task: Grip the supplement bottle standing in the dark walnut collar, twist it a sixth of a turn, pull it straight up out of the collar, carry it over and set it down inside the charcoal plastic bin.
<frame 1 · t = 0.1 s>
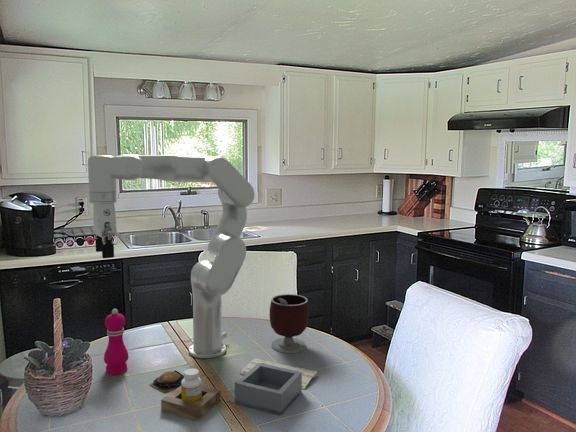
hand: (104, 254, 147), 37 cm above the table, tool pointing down, fingers open, 9 cm apart
socket collar: (191, 405, 134), on the table
newspaper: (278, 375, 154), on the table
supplement bottle: (191, 406, 134), on the table
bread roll: (171, 385, 147), on the table
bin: (268, 397, 139), on the table
pepper mill: (116, 371, 154), on the table
mate gourd: (287, 347, 175), on the table
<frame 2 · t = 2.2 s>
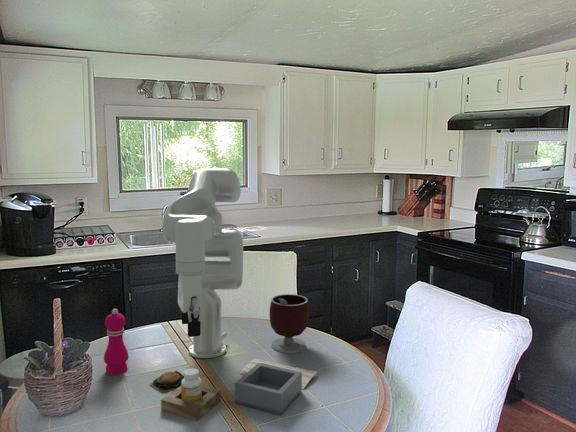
hand: (190, 329, 131), 22 cm above the table, tool pointing down, fingers open, 9 cm apart
nothing on the table moved.
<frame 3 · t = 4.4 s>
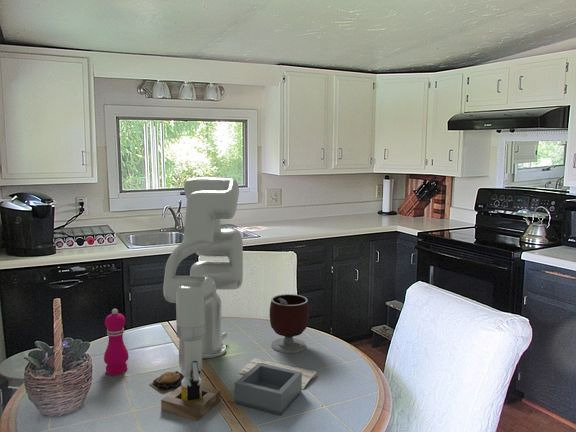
hand: (191, 393, 134), 4 cm above the table, tool pointing down, fingers closed on supplement bottle, 5 cm apart
supplement bottle: (191, 406, 134), on the table, touching gripper
everything else where it was.
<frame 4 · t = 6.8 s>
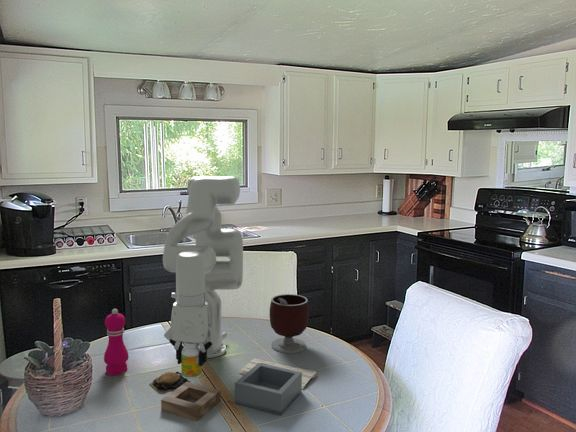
hand: (191, 362, 133), 12 cm above the table, tool pointing down, fingers closed on supplement bottle, 5 cm apart
supplement bottle: (191, 375, 134), point 8 cm above the table, touching gripper
everything else where it was.
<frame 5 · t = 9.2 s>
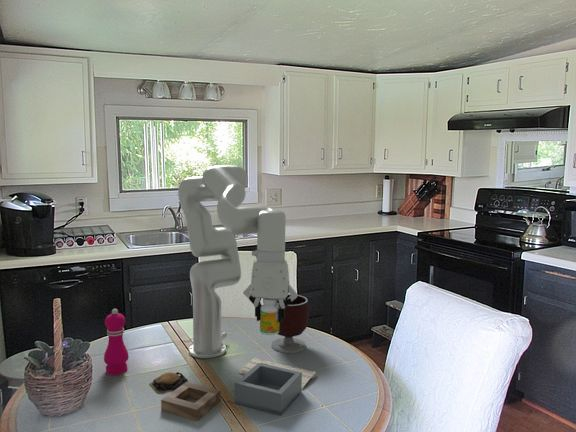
hand: (269, 319, 136), 23 cm above the table, tool pointing down, fingers closed on supplement bottle, 5 cm apart
supplement bottle: (269, 332, 136), point 19 cm above the table, touching gripper
everything else where it was.
when the fingers open (7 cm above the table, at t = 12.5 s): supplement bottle drops 2 cm, resting on bin.
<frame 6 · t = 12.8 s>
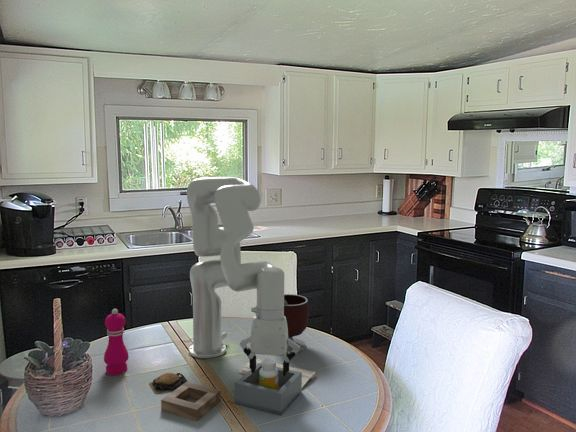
hand: (269, 372, 138), 8 cm above the table, tool pointing down, fingers open, 8 cm apart
supplement bottle: (269, 394, 139), point 1 cm above the table, touching bin
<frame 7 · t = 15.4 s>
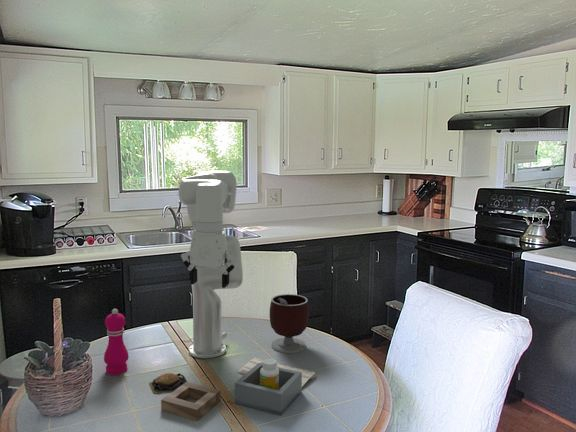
hand: (209, 284, 143), 30 cm above the table, tool pointing down, fingers open, 9 cm apart
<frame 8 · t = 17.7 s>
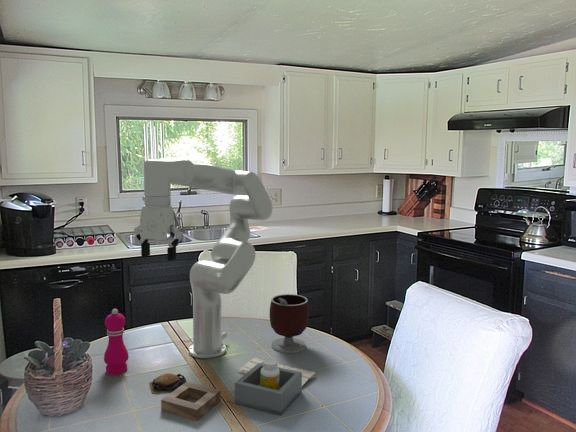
hand: (158, 258, 148), 36 cm above the table, tool pointing down, fingers open, 9 cm apart
at the end: supplement bottle inside the target area on the bin (0.1 cm from its centre), point 0.9 cm above the bin's base; the gripper is holding nothing; supplement bottle moved 21.4 cm from its start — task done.
